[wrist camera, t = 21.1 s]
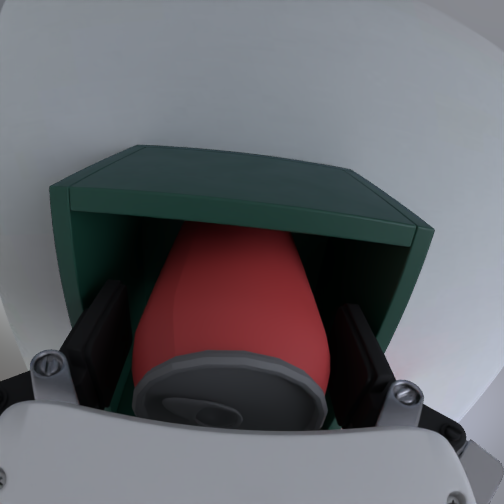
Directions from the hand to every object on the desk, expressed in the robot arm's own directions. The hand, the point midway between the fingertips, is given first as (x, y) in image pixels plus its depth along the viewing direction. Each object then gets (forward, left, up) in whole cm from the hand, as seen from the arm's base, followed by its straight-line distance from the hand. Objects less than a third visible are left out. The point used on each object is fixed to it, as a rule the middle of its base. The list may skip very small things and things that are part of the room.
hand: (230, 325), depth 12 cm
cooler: (+1, 0, -8) cm, 8 cm away
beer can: (0, 0, -8) cm, 8 cm away
